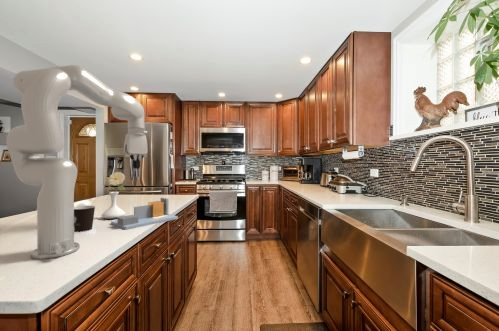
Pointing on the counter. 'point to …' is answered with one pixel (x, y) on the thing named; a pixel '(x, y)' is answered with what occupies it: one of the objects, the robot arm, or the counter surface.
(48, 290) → the counter surface
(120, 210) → the flower in vase
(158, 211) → the clip
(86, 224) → the coffee mug
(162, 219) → the rail
